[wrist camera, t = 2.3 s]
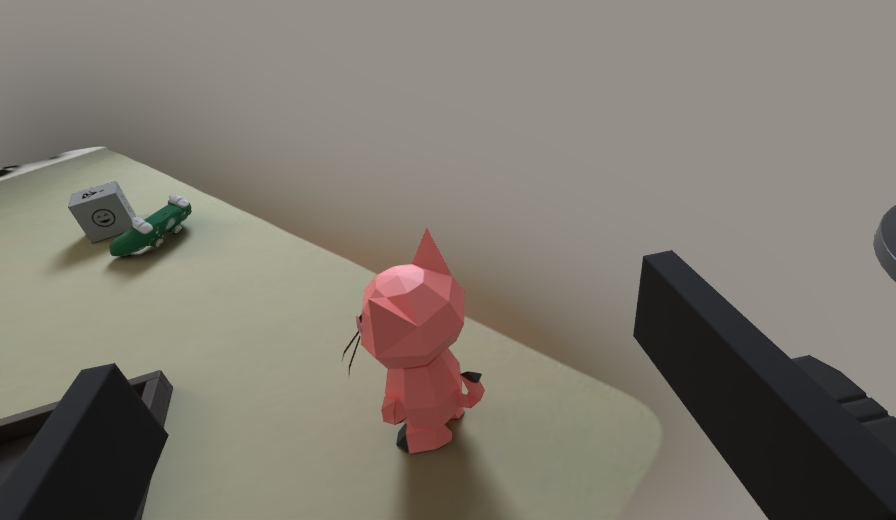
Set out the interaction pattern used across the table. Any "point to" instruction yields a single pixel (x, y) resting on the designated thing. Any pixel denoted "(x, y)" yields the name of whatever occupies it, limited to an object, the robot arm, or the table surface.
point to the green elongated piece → (152, 227)
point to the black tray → (13, 435)
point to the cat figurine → (418, 347)
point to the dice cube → (102, 211)
